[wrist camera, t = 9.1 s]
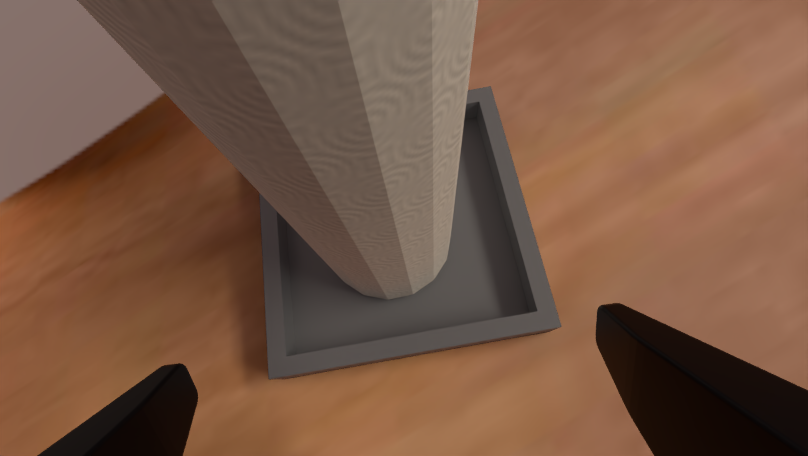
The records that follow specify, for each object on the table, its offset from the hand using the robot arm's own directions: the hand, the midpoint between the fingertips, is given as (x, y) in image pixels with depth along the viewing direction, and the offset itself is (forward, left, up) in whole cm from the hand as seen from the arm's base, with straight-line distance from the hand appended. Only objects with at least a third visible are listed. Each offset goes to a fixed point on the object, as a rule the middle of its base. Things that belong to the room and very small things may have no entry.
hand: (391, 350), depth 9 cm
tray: (+4, +6, -11) cm, 13 cm away
